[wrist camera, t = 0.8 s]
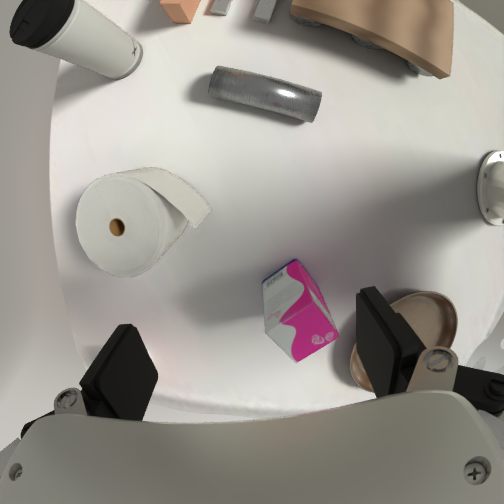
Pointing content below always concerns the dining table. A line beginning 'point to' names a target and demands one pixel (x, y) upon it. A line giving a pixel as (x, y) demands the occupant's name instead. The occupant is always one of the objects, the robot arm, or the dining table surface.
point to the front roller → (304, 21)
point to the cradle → (261, 14)
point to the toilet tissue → (135, 218)
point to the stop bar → (180, 9)
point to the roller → (265, 93)
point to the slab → (392, 26)
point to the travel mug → (76, 36)
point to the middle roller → (365, 43)
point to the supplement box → (296, 312)
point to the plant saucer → (417, 326)
